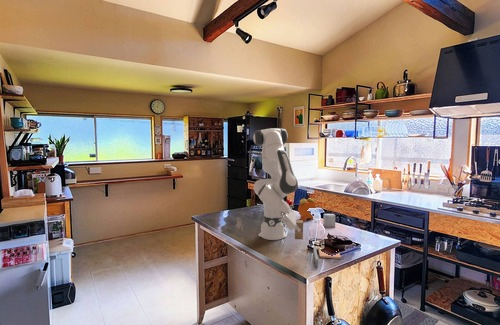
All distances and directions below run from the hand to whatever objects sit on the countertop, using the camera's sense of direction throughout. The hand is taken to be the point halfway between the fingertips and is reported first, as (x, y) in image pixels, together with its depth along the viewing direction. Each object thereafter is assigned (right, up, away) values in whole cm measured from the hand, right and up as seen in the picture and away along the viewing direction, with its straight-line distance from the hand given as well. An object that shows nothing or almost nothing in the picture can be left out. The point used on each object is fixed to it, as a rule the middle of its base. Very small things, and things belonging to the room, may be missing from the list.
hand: (300, 229), depth 148 cm
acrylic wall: (+9, -17, +2) cm, 19 cm away
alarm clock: (+19, -11, +79) cm, 82 cm away
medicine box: (+33, -12, +60) cm, 70 cm away
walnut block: (-1, -5, +1) cm, 5 cm away
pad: (+18, -16, +9) cm, 26 cm away
